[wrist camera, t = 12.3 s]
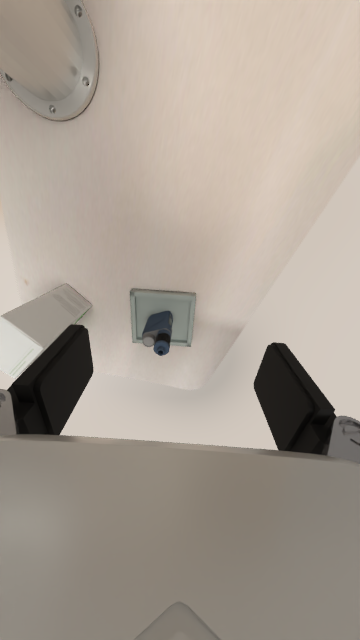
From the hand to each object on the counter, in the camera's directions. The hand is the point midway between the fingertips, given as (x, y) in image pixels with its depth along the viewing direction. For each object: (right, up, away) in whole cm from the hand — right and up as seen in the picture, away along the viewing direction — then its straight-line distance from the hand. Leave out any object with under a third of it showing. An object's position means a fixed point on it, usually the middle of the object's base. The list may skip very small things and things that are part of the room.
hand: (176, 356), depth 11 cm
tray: (-3, +3, +30) cm, 30 cm away
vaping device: (-4, +2, +30) cm, 30 cm away
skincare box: (-22, +5, +30) cm, 38 cm away
